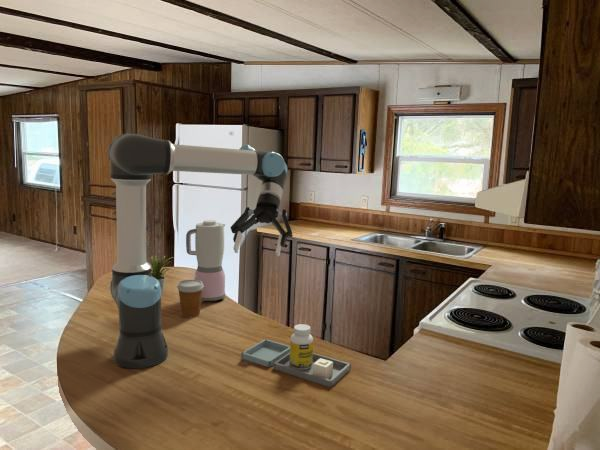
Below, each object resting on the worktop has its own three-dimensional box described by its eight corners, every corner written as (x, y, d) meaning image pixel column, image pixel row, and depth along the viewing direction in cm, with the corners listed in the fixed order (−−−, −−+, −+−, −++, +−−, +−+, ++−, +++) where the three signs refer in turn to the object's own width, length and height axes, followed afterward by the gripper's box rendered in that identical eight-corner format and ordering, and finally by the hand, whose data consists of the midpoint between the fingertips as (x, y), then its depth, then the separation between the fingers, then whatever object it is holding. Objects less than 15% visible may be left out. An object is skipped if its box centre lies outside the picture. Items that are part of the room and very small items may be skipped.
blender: (220, 292, 202) (220, 218, 196) (229, 301, 191) (230, 222, 186) (182, 296, 195) (182, 219, 189) (190, 306, 184) (189, 224, 178)
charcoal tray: (330, 390, 125) (331, 381, 125) (273, 371, 134) (273, 363, 134) (350, 371, 136) (350, 363, 135) (296, 355, 145) (296, 347, 144)
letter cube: (325, 381, 128) (326, 367, 127) (312, 377, 130) (313, 363, 130) (332, 375, 132) (333, 361, 131) (319, 371, 134) (320, 357, 133)
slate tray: (269, 370, 135) (269, 361, 135) (241, 360, 140) (241, 352, 140) (292, 354, 145) (292, 346, 145) (265, 346, 151) (265, 338, 150)
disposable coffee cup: (200, 319, 171) (200, 287, 169) (174, 318, 171) (173, 286, 169) (206, 310, 180) (206, 279, 178) (181, 309, 181) (181, 278, 178)
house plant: (184, 291, 201) (184, 254, 198) (158, 300, 190) (158, 260, 187) (161, 285, 209) (160, 249, 206) (135, 293, 197) (133, 254, 194)
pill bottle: (292, 371, 133) (293, 332, 131) (287, 361, 139) (288, 323, 137) (315, 369, 135) (316, 330, 133) (308, 359, 141) (309, 322, 139)
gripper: (307, 208, 161) (296, 261, 149) (236, 203, 166) (221, 255, 154) (304, 194, 155) (293, 248, 143) (231, 190, 160) (215, 242, 148)
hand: (256, 252), depth 148 cm, fingers open, 13 cm apart
